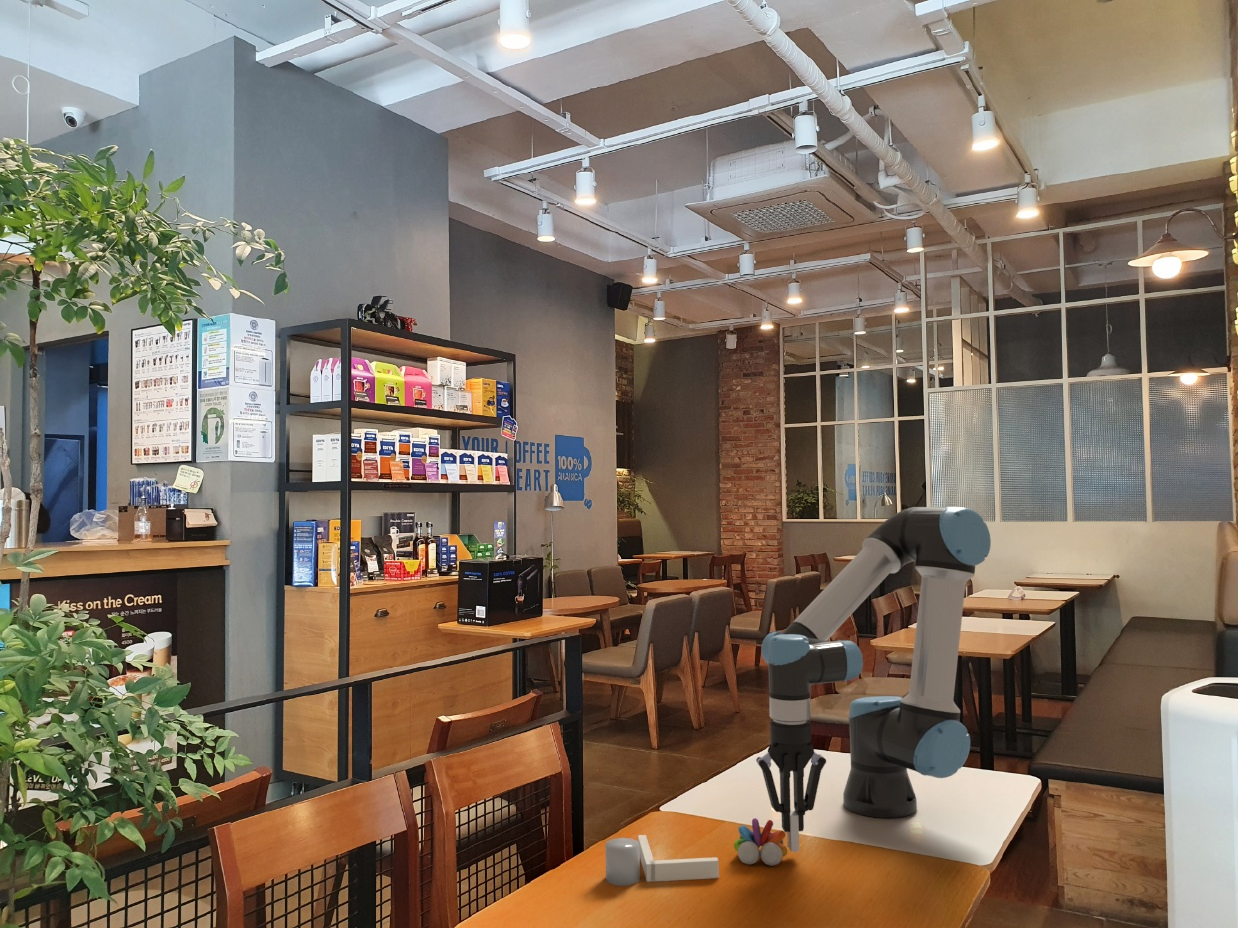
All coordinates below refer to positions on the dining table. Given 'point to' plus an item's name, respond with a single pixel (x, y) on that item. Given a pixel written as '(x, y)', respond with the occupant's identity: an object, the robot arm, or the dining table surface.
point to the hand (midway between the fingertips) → (793, 848)
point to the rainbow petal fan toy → (760, 844)
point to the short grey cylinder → (622, 861)
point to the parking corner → (675, 866)
